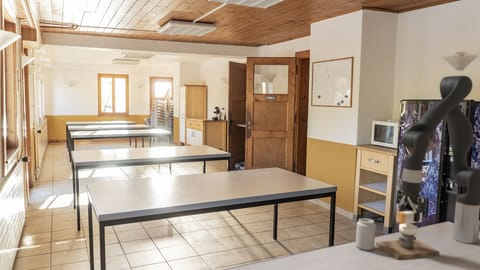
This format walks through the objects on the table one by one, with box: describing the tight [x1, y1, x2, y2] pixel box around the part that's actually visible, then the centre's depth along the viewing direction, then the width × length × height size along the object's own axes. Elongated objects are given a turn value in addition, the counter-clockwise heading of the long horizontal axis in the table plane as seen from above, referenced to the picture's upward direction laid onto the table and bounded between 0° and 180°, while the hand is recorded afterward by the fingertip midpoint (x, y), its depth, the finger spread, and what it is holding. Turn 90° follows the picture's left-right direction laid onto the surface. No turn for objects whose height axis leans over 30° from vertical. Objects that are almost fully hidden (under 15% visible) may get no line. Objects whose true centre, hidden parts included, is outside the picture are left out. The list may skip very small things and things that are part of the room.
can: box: [355, 217, 377, 251], centre depth 159 cm, size 8×8×12 cm
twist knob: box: [395, 210, 423, 236], centre depth 157 cm, size 10×7×8 cm
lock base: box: [375, 233, 440, 260], centre depth 157 cm, size 20×14×8 cm
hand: (408, 218), depth 156 cm, fingers open, 8 cm apart
